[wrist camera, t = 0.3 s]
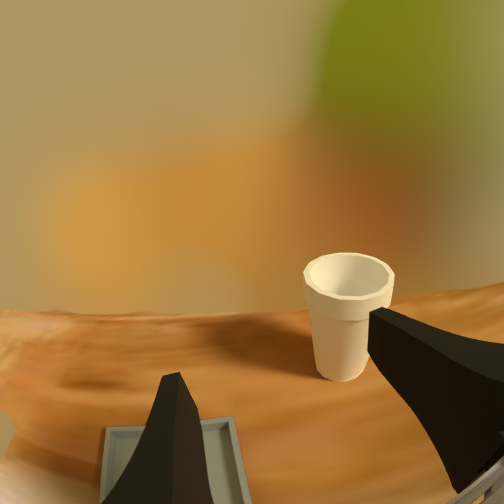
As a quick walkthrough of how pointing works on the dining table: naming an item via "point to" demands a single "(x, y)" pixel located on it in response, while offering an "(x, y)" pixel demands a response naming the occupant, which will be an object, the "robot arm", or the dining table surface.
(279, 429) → the dining table surface
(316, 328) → the foam cup
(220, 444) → the slate tray
